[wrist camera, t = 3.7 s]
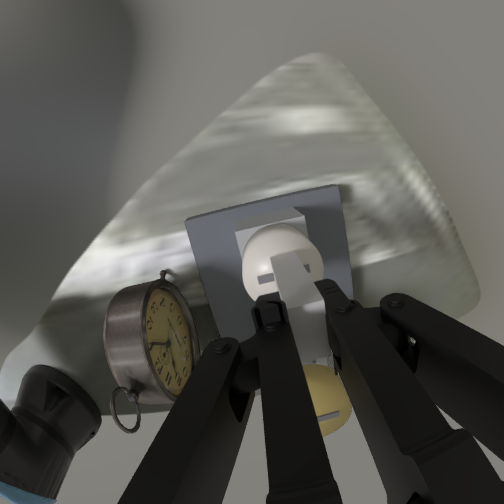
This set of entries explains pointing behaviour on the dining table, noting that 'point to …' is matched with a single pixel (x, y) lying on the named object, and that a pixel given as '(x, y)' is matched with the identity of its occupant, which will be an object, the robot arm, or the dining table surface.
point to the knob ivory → (271, 244)
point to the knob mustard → (327, 397)
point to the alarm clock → (149, 344)
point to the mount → (238, 233)
